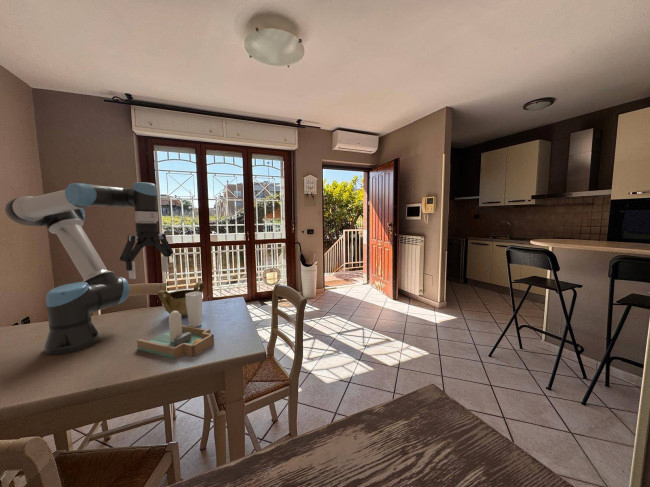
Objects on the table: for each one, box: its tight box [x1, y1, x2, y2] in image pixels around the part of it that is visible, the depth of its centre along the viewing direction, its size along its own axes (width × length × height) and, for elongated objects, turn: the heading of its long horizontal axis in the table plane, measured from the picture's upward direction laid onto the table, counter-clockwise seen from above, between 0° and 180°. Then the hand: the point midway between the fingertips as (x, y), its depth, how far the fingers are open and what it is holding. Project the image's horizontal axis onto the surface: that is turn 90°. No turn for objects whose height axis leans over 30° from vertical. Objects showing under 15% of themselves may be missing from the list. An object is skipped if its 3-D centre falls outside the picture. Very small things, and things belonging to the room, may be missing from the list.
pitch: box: [136, 324, 215, 360], centre depth 100 cm, size 24×16×4 cm, turn 70°
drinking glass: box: [185, 292, 203, 328], centre depth 118 cm, size 7×7×15 cm
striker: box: [168, 311, 192, 345], centre depth 100 cm, size 6×6×12 cm
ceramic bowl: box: [157, 281, 206, 318], centre depth 130 cm, size 22×17×15 cm
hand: (149, 274), depth 105 cm, fingers open, 13 cm apart
